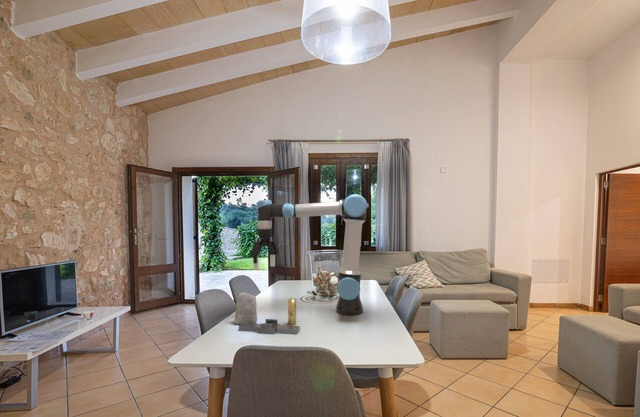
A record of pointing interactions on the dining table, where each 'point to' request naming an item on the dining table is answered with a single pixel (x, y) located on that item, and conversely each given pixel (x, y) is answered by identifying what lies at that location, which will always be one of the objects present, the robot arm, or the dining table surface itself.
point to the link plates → (269, 327)
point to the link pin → (292, 311)
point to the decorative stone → (245, 309)
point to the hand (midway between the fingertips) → (264, 268)
